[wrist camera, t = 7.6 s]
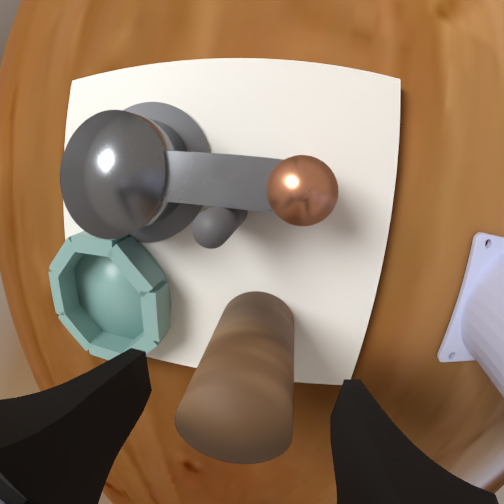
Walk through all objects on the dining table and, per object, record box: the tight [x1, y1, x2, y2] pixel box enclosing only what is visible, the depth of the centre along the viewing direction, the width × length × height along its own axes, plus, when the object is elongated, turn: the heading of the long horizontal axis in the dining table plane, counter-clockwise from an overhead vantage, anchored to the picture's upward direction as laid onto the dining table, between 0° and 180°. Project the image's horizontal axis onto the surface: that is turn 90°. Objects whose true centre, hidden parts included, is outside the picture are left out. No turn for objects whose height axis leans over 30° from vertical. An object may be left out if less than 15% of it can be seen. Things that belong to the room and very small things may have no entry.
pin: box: [175, 291, 294, 464], centre depth 11 cm, size 4×4×7 cm
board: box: [63, 58, 401, 385], centre depth 12 cm, size 17×16×5 cm
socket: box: [49, 231, 171, 360], centre depth 14 cm, size 7×7×2 cm
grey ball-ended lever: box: [60, 110, 338, 239], centre depth 11 cm, size 11×5×3 cm, turn 84°
